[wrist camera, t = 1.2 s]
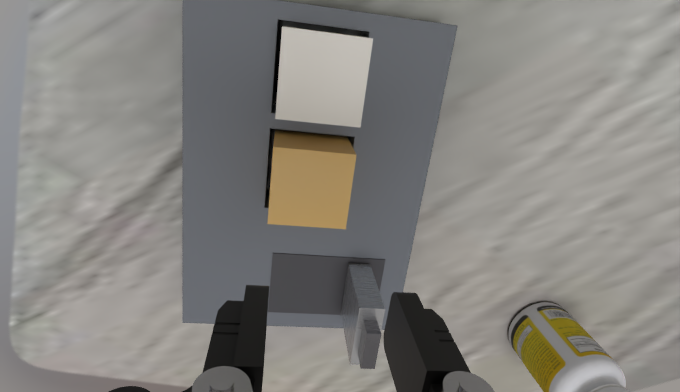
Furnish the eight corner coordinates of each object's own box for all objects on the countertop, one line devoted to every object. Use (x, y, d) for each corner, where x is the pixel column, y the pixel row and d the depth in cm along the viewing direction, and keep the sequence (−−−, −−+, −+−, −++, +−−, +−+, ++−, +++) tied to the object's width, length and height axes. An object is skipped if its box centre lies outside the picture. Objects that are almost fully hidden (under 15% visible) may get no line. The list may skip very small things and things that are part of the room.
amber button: (275, 129, 27) (273, 147, 23) (347, 137, 28) (356, 154, 24) (270, 197, 29) (267, 224, 25) (338, 203, 29) (345, 229, 26)
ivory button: (283, 25, 25) (282, 26, 21) (360, 36, 26) (373, 38, 22) (276, 105, 27) (275, 118, 23) (350, 113, 27) (360, 127, 24)
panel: (194, -10, 26) (182, -14, 23) (440, 25, 28) (458, 25, 25) (191, 297, 33) (182, 323, 30) (386, 305, 35) (395, 330, 32)
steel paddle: (348, 263, 30) (362, 321, 24) (370, 264, 30) (389, 322, 24) (340, 313, 31) (352, 379, 25) (361, 313, 31) (378, 379, 25)
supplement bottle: (518, 361, 39) (587, 464, 30) (497, 318, 37) (565, 415, 28) (574, 334, 38) (662, 430, 29) (557, 289, 36) (645, 377, 27)
